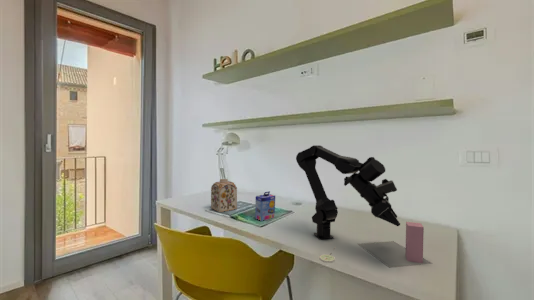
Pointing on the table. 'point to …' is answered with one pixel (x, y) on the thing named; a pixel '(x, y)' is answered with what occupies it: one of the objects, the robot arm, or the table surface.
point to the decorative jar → (223, 196)
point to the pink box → (414, 242)
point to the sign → (327, 258)
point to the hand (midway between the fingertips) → (397, 221)
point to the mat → (390, 253)
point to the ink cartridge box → (265, 207)
